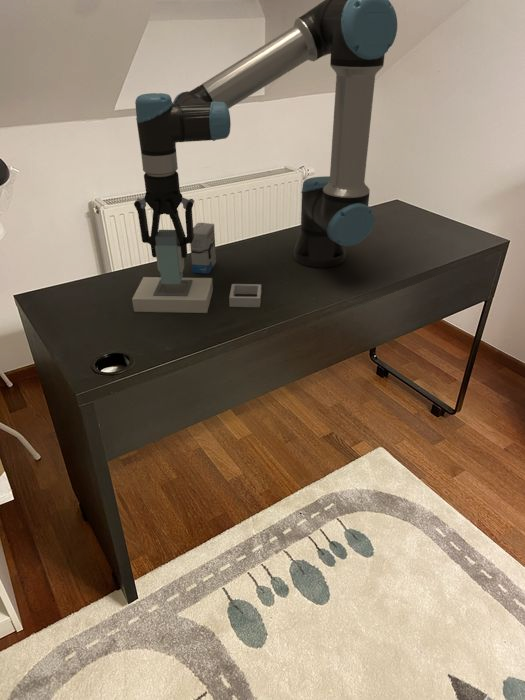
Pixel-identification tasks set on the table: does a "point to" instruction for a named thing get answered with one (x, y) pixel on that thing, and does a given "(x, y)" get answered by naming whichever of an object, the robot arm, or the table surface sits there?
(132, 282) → the table surface
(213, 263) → the ink box
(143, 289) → the port
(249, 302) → the grey square frame
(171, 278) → the plug
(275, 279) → the table surface
